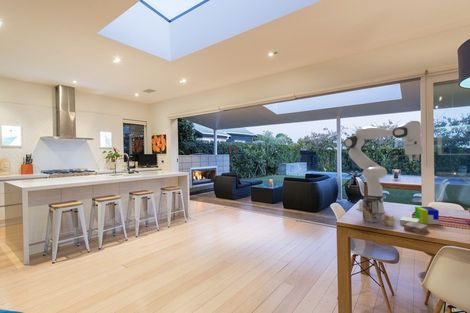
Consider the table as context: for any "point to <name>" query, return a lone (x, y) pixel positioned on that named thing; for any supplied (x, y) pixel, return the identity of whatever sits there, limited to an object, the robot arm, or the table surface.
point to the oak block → (387, 219)
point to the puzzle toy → (427, 215)
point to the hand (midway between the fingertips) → (414, 160)
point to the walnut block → (415, 227)
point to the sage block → (408, 220)
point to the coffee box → (370, 210)
